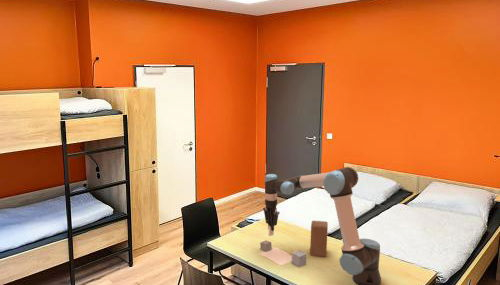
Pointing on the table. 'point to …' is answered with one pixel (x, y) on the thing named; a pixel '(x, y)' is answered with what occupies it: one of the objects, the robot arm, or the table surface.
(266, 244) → the grey cube
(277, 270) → the table surface
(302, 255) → the slate cube
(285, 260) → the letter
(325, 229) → the wooden block
